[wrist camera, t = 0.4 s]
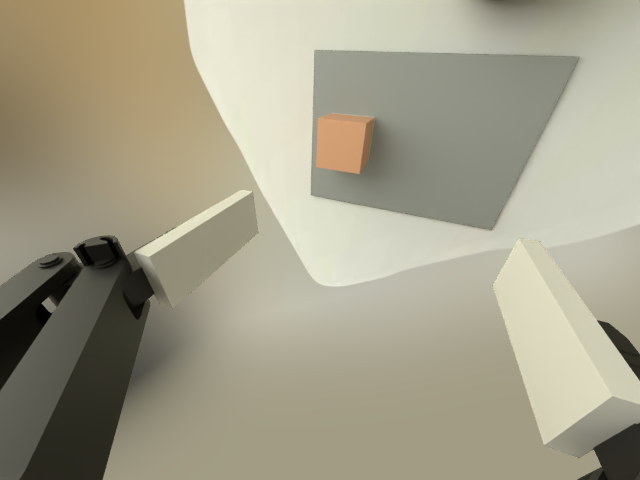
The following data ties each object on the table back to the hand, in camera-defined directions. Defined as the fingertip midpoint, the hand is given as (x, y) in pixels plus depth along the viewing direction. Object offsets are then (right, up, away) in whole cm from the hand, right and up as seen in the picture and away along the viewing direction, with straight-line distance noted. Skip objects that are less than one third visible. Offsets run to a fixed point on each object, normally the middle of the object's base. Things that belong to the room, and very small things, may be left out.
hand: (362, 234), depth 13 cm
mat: (+10, +13, +21) cm, 26 cm away
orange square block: (+2, +14, +23) cm, 27 cm away
